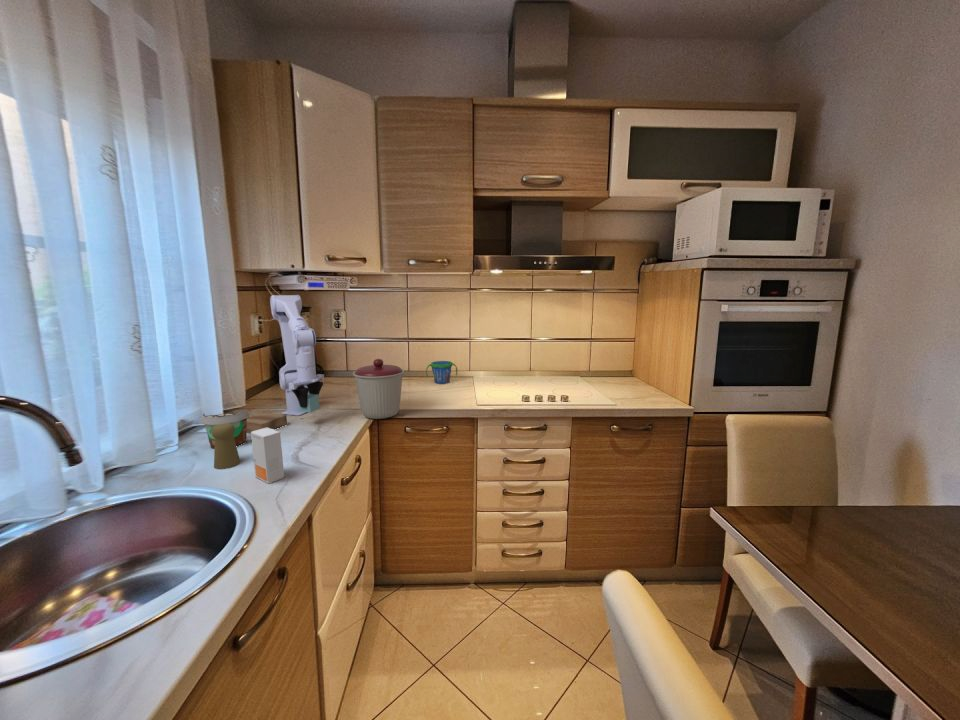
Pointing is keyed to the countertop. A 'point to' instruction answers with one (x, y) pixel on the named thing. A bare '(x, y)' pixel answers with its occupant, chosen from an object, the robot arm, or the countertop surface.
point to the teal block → (311, 403)
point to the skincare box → (267, 455)
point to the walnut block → (265, 421)
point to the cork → (225, 446)
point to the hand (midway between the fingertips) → (309, 405)
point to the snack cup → (441, 371)
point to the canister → (379, 389)
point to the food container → (235, 419)
